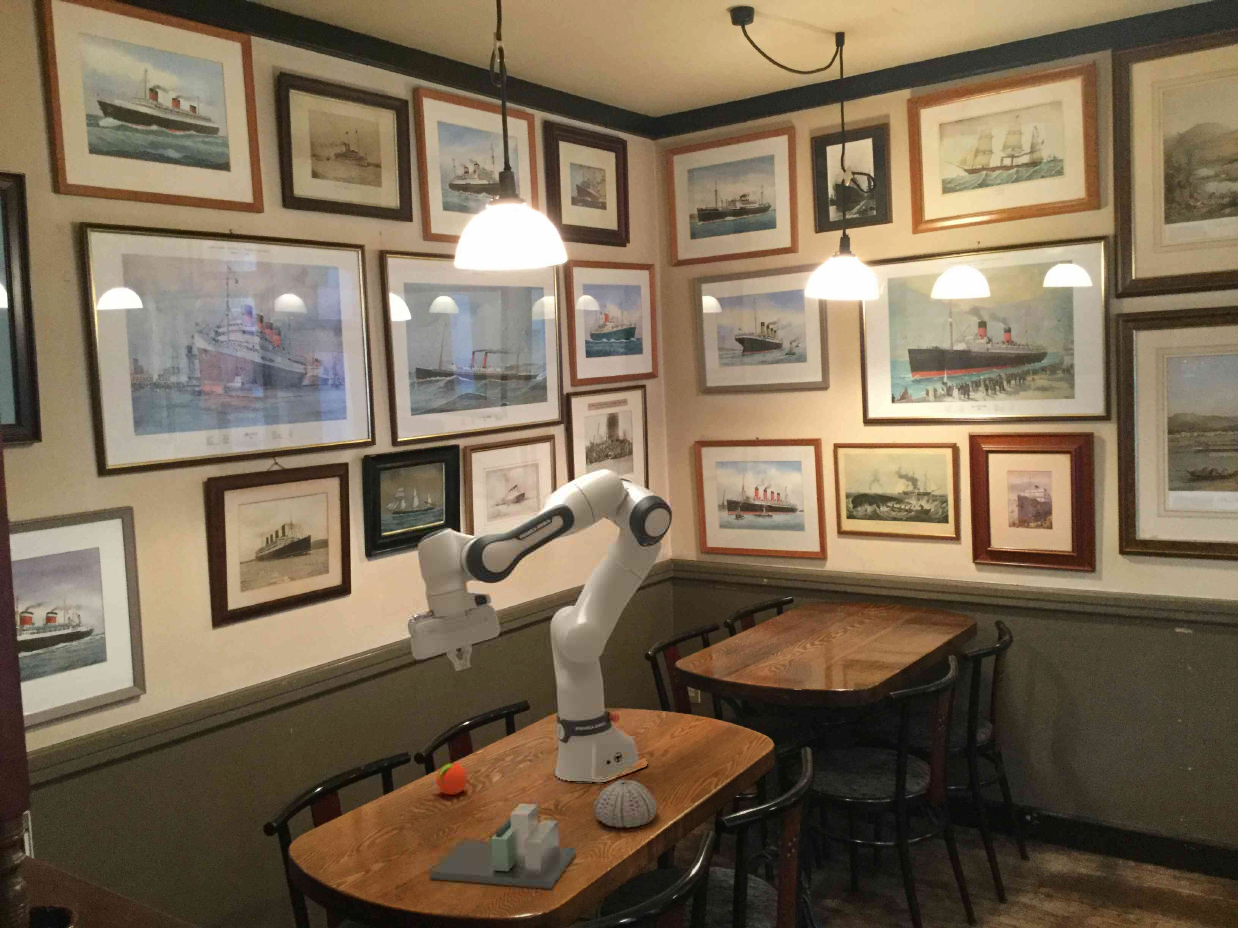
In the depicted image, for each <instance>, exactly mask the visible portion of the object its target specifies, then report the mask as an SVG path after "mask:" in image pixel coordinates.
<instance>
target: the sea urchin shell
mask: <svg viewBox="0 0 1238 928" xmlns="http://www.w3.org/2000/svg"><path fill="white" fill-rule="evenodd" d="M593 810H594V811H593V814H594V815H595V817H596V818H597V819H598V820H599V821H600V822H602V824H605V825H607V826H610V827H616V828H621V829H623V828H627V829H631V828H630V827H633V828H638V827H639V826H640V825H642V826H643V825H645V824H648V823H650V822H652V820H653V819H654V818H655V817H656V814H657V810H658V804H657V803H656V800H655V796H653V795H652V792H650V791H649V788H646V787H645V786H644V785H643V784H642V783H640V782H638V781H637V780H632V779H631V780H626V779H625V780H624V779H619V780H616V781H614V783H611V784H610V785H608V786H606V788H603V790H602V791H600V792H599V795H598V796H597V797H596V800H595V801H594V803H593ZM637 826H638V827H637ZM622 827H623V828H622ZM640 827H641V826H640Z"/></svg>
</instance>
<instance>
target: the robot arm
mask: <svg viewBox="0 0 1238 928" xmlns="http://www.w3.org/2000/svg"><path fill="white" fill-rule="evenodd" d="M672 511H673V510H672V509H671V507H670V505H669V504H668V502H666V501H665V500H664V499H663V498H662V497H661V496H658V495H657V494H656V493H654V492H652V491H651V490H650V489H648V488H646V487H645V486H642V485H639V484H637V483H633V482H632V481H631V480H628V479H625V478H621V477H620V476H619V475H618V474H617V473H616V472H614V471H613V470H610V469H606V468H602V469H599V470H595V471H592V472H589V473H586V474H584V475H582V476H579V477H578V478H577V477H576V478H574V479H573V480H571V481H569V482H567V483H566V484H564V485H562V486H561V487H559V488H557V489H556V490H554V491H553V492H552V493H551V494H549V495H548V496H547V497H546V498H545V499H544V501H543V505H542V509H541V511H540V512H539V513H538V514H537V515H535V516H533V517H532V518H530V519H529V520H527V521H525V522H523V523H522V524H519V525H518V526H516V527H514V528H513V529H511V530H510V531H506V532H504V533H491V534H486V535H483V536H477V535H470V534H465V533H462V532H458V531H456V530H454V529H452V528H450V527H449V528H448V527H444V528H441V529H438V530H435V531H433V532H430V533H429V534H428V533H427V534H426V535H425V536H423V537H422V538H421V539H420V540H419V542H418V545H417V555H418V563H419V570H420V574H421V578H422V580H423V581H424V584H425V597H426V602H427V607H428V611H425V612H421V613H417V614H414V615H412V617H411V618H410V619H409V620H408V622H407V629H408V632H409V633H408V634H409V636H410V647H411V655H412V657H413V658H415V659H416V660H424V659H428V658H432V657H435V656H438V655H442V654H445V653H446V657H447V658H448V659H449V660H450V661H451V662H452V663H453V667H454V670H455V672H457V671H458V672H459V671H462V670H465V669H468V668H471V662H470V658H471V654H472V652H473V647H472V645H474V644H477V643H481V642H485V641H487V640H492V639H494V638H497V637H498V636H499V635H500V632H501V626H500V622H499V619H498V615H497V612H496V609H495V608H494V607H493V606H492V605H490V604H492V598H491V595H490V594H487V593H475V592H469V590H468V586H467V585H468V582H470V581H474V582H483V583H486V584H495V583H496V584H497V583H500V582H502V581H504V580H505V579H507V578H508V577H509V576H510V575H511V574H512V573H513V571H514V570H515V568H516V567H517V566H518V564H519V563H520V562H521V561H522V560H523V559H524V558H526V557H527V556H528V555H530V554H531V553H533V552H535V551H537V550H538V549H541V548H542V547H543V546H545V545H547V544H549V543H551V542H552V541H554V540H556V539H559V538H564V537H568V536H571V535H574V534H577V533H579V532H582V531H583V530H585V529H588V528H589V527H592V526H594V525H595V524H596V523H599V521H601V520H602V519H607V520H609V521H610V522H611V523H613V524H614V525H615V526H617V527H618V528H619V533H618V535H617V536H618V537H617V538H616V541H615V542H614V543H613V544H612V545H611V546H610V548H609V549H608V550H607V552H606V553H605V554H604V556H603V557H602V559H601V560H600V562H599V563H598V564H597V565H596V567H595V568H594V570H593V571H592V572H591V574H590V575H589V577H588V578H587V580H586V582H585V585H584V587H583V589H582V590H581V593H580V595H579V596H578V598H577V601H576V603H575V604H574V605H568V606H564V607H561V608H560V609H558V610H557V611H556V612H555V614H554V615H553V617H552V619H551V622H550V627H549V628H550V629H549V631H550V639H551V640H550V643H551V651H552V659H553V667H554V674H555V675H554V676H555V681H556V697H557V711H558V712H557V715H556V725H557V726H556V734H557V737H558V738H557V739H558V753H557V754H558V755H557V761H556V762H557V763H556V766H555V772H554V774H555V777H556V776H557V779H559V778H560V779H559V780H562V779H563V780H562V781H565V780H568V781H567V782H569V781H595V782H602V781H605V780H608V779H610V778H612V777H615V776H617V775H619V774H621V773H623V772H625V771H627V770H629V769H632V768H629V767H633V764H636V763H637V762H639V757H638V753H639V752H638V747H637V744H636V742H635V739H633V737H632V736H630V735H629V734H628V733H626V732H624V731H622V730H621V729H619V727H616V726H615V725H613V723H618V722H619V721H620V720H621V719H620V717H621V716H620V715H619V714H618V713H616V712H610V711H608V710H605V699H604V698H605V695H604V678H603V674H602V670H601V664H600V656H601V655H602V654H603V652H604V650H605V647H606V644H607V642H608V640H609V638H610V636H611V635H612V634H613V633H612V632H613V631H614V629H615V627H616V625H617V623H618V621H619V618H620V617H621V615H622V613H623V611H624V609H625V608H626V606H627V604H628V603H629V601H630V600H631V598H633V596H634V594H635V593H636V591H637V590H638V589H639V588H640V586H641V585H642V583H643V582H644V580H645V579H646V577H647V576H648V574H649V573H650V571H651V570H652V568H653V566H654V564H655V562H656V560H657V558H658V556H659V554H660V551H661V549H662V540H663V538H664V537H665V536H666V535H667V533H668V531H669V529H670V527H671V524H672V521H673V520H672V519H673V512H672ZM457 649H461V652H463V655H462V659H461V660H460V659H459V658H458V657H457V656H456V655H458V651H457ZM612 722H613V723H612ZM634 766H637V765H634ZM627 767H628V768H627Z"/></svg>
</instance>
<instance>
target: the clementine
mask: <svg viewBox="0 0 1238 928" xmlns="http://www.w3.org/2000/svg"><path fill="white" fill-rule="evenodd" d="M436 782H437V783H436V784H437V787H438V789H439V790H440V791H442V793H444V794H445V795H457V794H459V793H461V792H462V791H463V790H464V788H465V787H466V786H467V783H468V772H467V771H466V769H465V768H464V767H463V766H462V765H460V764H459V763H456V762H451V763H446V764H445V765H443V767H441V769H440V770H439V771H438V772H437V776H436Z"/></svg>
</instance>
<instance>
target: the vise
mask: <svg viewBox="0 0 1238 928" xmlns="http://www.w3.org/2000/svg"><path fill="white" fill-rule="evenodd" d="M559 836H560V835H559V823H558V820H551V819H550V820H549V819H542V820H541V822H539V823H538V826H537V827H536V829H535V830H534V831H533V832H532V833H531V834H530V836H529V837H528V838H527V839H526V840H525V841H524V852H525V867H517V866H512V867H511V869H510V870H509V871H498V870H493V859H492V843H491V841H488V840H487V841H486V840H485V841H484V840H474V839H473V840H471V839H461V840H460V841H459V842H457V844H456V845H455V846H454V847H453V848H451V850H450V851H449V852H448V853H446V855H445V856H443V858H441V860H440V861H439V862H438V863H437V864H435V865H434V867H433V868H432V869H430V871H429V875H430V876H429V877H430V878H429V879H430V880H435V881H436V880H437V881H449V882H461V883H470V884H471V883H474V884H483V885H495V886H496V885H497V886H506V887H507V886H508V887H518V888H520V887H521V888H531V889H542V890H544V889H545V890H552V888H553V887H554V886H555V884H556V883H557V881H558V880H559V879H560V878H561V876H562V874H563V873H564V872H565V870H566V869H567V868H568V866H569V865H570V864H571V862H572V861H573V859H574V858H575V857H574V856H576V847H570V846H560V839H559Z"/></svg>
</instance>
